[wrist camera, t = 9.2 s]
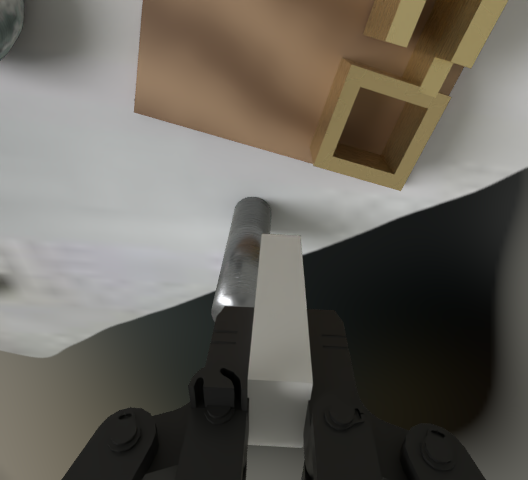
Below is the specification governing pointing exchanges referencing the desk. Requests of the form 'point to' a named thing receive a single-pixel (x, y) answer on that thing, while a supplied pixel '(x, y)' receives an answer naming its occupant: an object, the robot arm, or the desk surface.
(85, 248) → the desk surface
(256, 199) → the pin
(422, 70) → the fixed leaf
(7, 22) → the spool
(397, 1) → the tan flat bar
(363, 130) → the board
